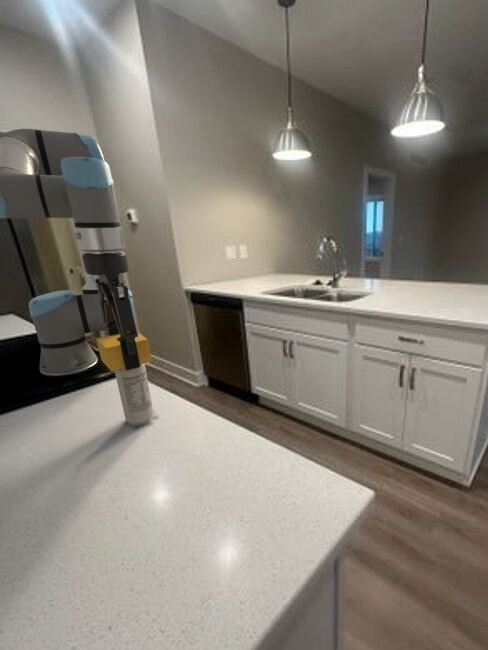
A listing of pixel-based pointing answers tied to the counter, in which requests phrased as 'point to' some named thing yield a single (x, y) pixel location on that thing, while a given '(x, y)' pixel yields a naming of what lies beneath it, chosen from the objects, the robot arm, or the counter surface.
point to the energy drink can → (135, 395)
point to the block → (113, 352)
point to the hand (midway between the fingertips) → (126, 361)
